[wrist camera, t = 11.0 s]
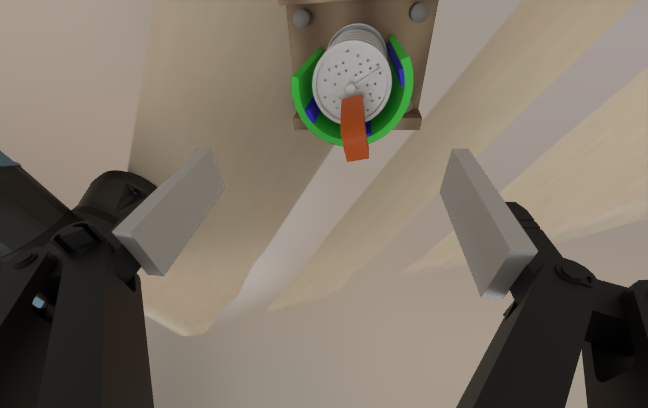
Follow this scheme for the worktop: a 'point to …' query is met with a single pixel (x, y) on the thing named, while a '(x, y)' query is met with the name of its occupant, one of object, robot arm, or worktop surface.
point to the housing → (376, 10)
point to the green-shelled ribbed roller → (354, 89)
